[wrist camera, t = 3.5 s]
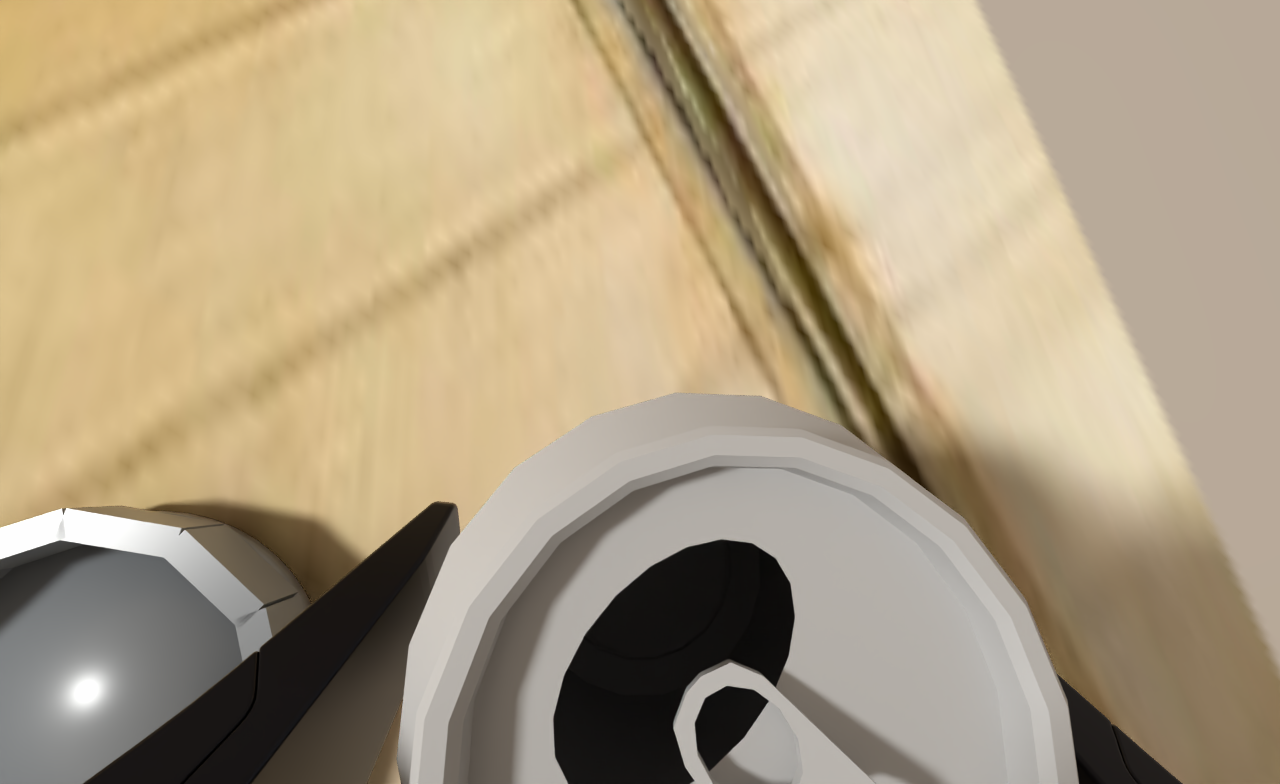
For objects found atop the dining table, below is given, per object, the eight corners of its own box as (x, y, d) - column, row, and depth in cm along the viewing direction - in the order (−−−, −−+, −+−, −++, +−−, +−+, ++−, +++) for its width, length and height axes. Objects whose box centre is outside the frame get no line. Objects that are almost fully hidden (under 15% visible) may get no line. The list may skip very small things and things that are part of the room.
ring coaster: (411, 681, 14) (380, 714, 12) (75, 1072, 12) (-32, 1192, 10) (146, 434, 15) (75, 426, 13) (-221, 758, 13) (-378, 810, 11)
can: (645, 404, 17) (757, 217, 5) (795, 561, 16) (1323, 768, 4) (479, 559, 15) (91, 806, 4) (638, 738, 15) (801, 1747, 3)
